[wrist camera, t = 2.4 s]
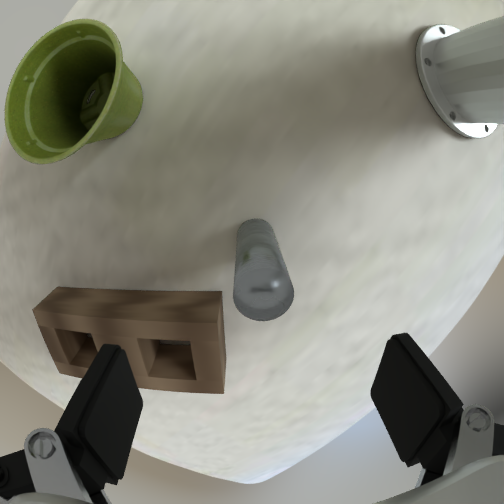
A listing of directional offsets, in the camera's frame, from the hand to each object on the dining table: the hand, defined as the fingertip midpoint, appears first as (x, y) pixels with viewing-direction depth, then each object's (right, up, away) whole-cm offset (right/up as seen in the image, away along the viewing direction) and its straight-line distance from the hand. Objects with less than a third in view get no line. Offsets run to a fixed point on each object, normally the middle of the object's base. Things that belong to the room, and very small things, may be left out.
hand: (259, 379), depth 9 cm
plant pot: (-12, +17, +10) cm, 23 cm away
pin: (0, +6, +14) cm, 15 cm away
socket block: (-12, -3, +17) cm, 21 cm away
